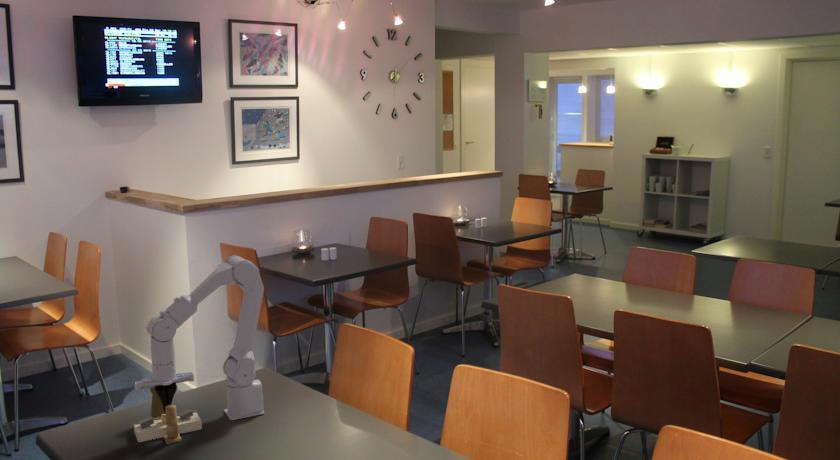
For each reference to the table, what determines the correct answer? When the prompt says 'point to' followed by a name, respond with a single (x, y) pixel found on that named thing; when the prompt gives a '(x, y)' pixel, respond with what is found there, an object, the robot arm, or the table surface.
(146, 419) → the rocker
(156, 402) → the cork
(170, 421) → the oak post
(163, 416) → the rocker
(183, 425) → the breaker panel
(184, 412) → the rocker
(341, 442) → the table surface
